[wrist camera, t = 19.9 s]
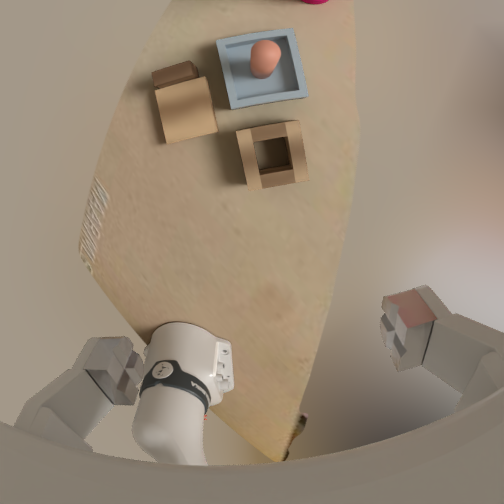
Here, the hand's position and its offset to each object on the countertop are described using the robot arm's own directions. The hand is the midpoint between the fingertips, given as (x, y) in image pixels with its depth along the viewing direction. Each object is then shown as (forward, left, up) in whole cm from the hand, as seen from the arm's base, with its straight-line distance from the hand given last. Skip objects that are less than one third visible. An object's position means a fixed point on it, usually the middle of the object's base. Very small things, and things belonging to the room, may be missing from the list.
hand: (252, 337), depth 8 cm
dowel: (+13, -4, -33) cm, 36 cm away
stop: (+14, +7, -34) cm, 38 cm away
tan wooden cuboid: (+9, +7, -35) cm, 37 cm away
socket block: (+1, -3, -34) cm, 34 cm away
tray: (+13, -4, -34) cm, 37 cm away
